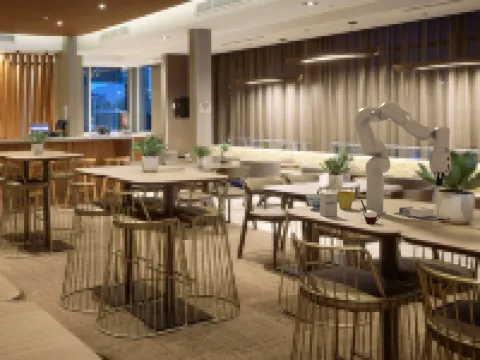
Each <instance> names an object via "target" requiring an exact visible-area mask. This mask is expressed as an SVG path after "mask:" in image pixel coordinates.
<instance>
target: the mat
mask: <svg viewBox="0 0 480 360" xmlns="http://www.w3.org/2000/svg"><path fill="white" fill-rule="evenodd" d="M396 214H399V215H398V216H402V215H403V217H409V218H412V219H420V220H426V221H431V222H435V221H439V220H438V218H437V216H436V215H437V214H434V215H433V216H427V217H417V216H411V215H408V214H402V213H399V212H394V213H393V215H396Z"/></svg>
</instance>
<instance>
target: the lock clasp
mask: <svg viewBox="0 0 480 360" xmlns="http://www.w3.org/2000/svg"><path fill="white" fill-rule="evenodd" d="M434 210H435V208H433V207H427V206H420V208H415V207H413V208H410V215H411V216H417V217H427V216H433V215H435V214H434V213H435V211H434Z"/></svg>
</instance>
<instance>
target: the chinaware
mask: <svg viewBox="0 0 480 360" xmlns="http://www.w3.org/2000/svg"><path fill="white" fill-rule="evenodd" d="M305 198H306V201H307V203H308V205H310V206H311V207H312V209H313V210H319V211H320V193H318V194H316V193H315V194H314V193H313V194H306V195H305Z"/></svg>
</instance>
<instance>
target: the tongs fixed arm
mask: <svg viewBox="0 0 480 360" xmlns="http://www.w3.org/2000/svg"><path fill="white" fill-rule="evenodd" d="M405 208H414V206H411V205H410V206H403V207H399V209H398V210H399V211H398V213H402V214H408V215H410V210H407V209H405Z"/></svg>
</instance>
